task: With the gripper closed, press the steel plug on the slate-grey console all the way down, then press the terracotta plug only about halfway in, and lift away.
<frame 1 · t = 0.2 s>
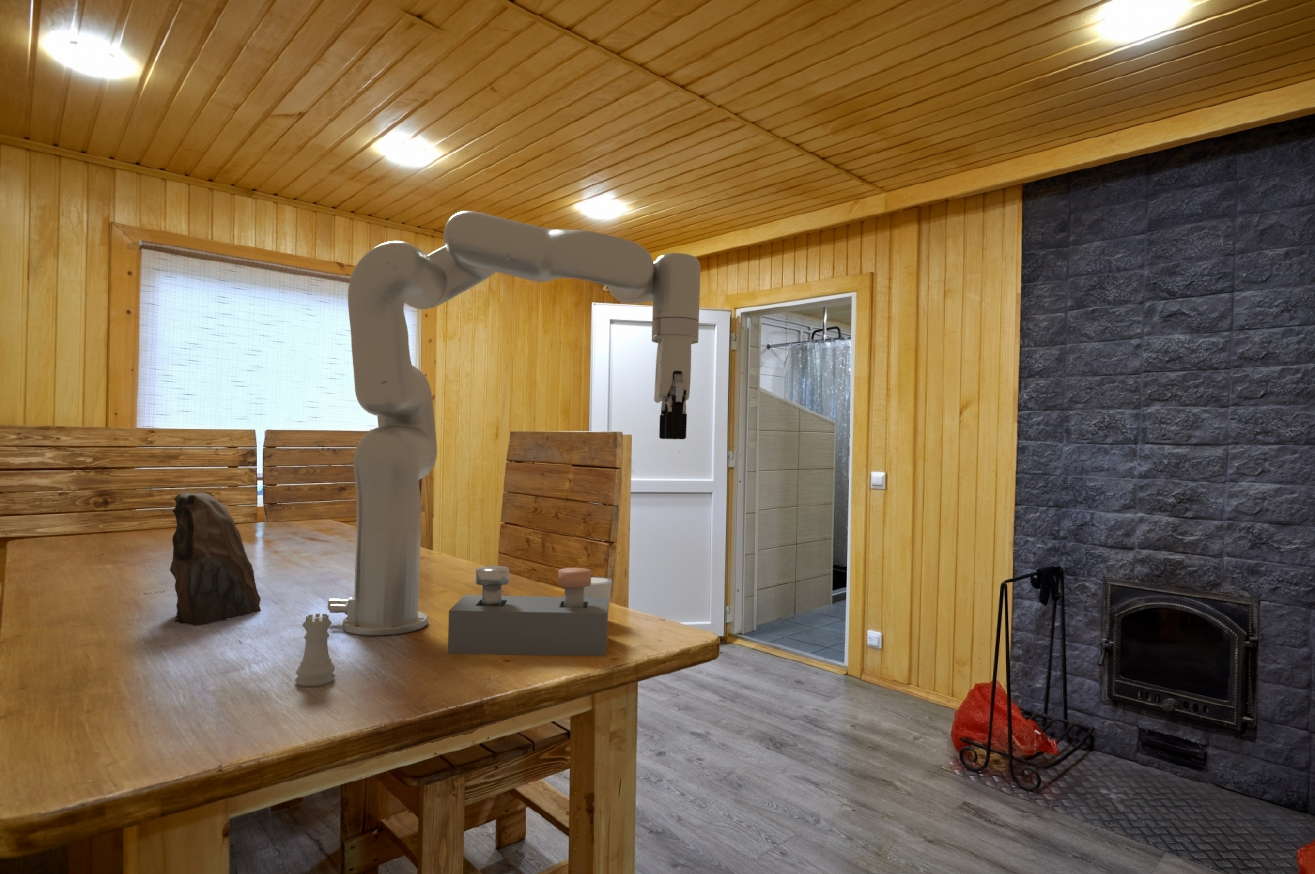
hand: (672, 439, 115), 31 cm above the table, tool pointing down, fingers open, 9 cm apart
terracotta plug: (574, 595, 105), point 7 cm above the table, slide at 0.0 cm
brown rock: (214, 616, 117), on the table
press console: (531, 644, 105), on the table
shot glass: (590, 622, 120), on the table
rook chess piece: (315, 683, 87), on the table
steel plug: (492, 594, 105), point 7 cm above the table, slide at 0.0 cm
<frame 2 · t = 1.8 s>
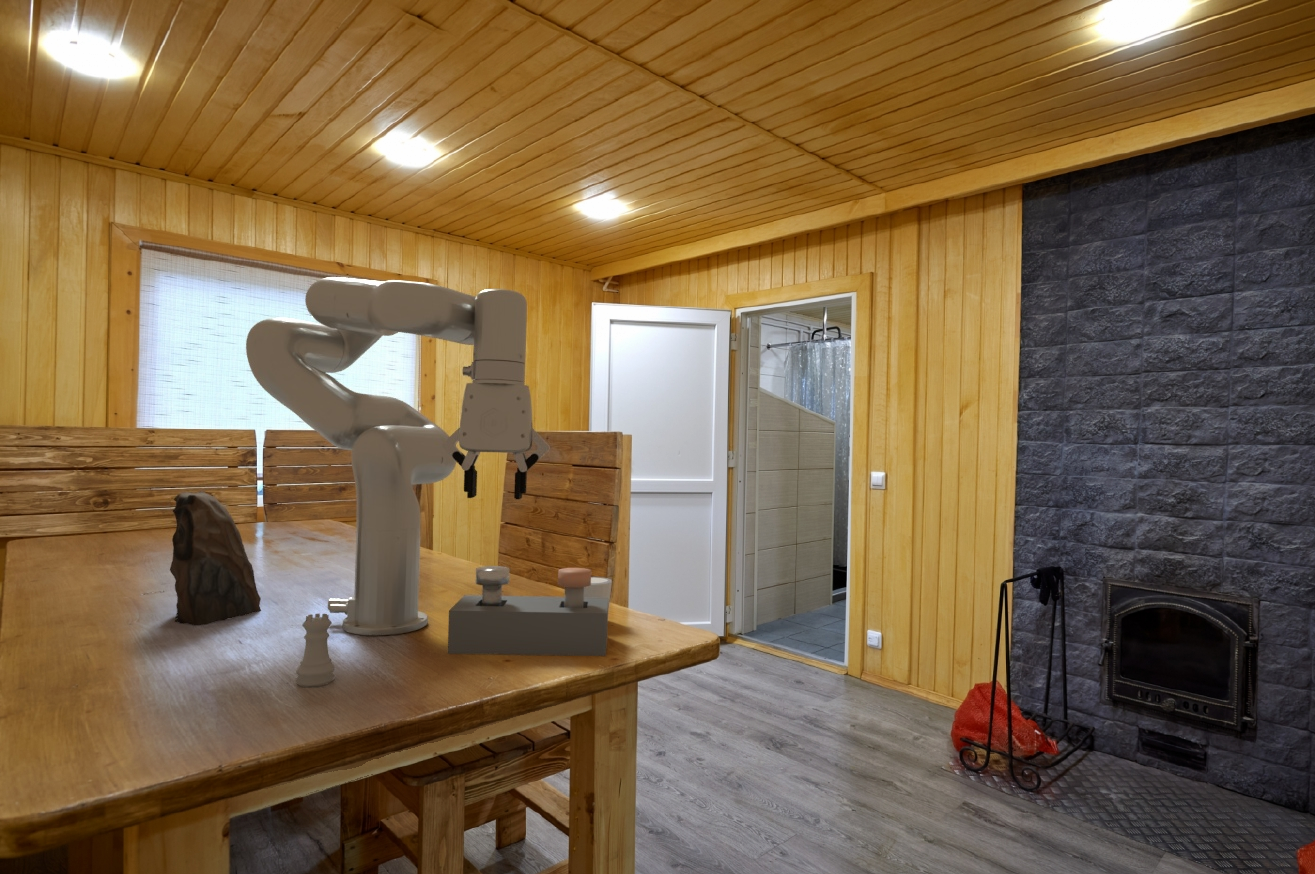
hand: (495, 496, 105), 22 cm above the table, tool pointing down, fingers open, 6 cm apart
nothing on the table moved.
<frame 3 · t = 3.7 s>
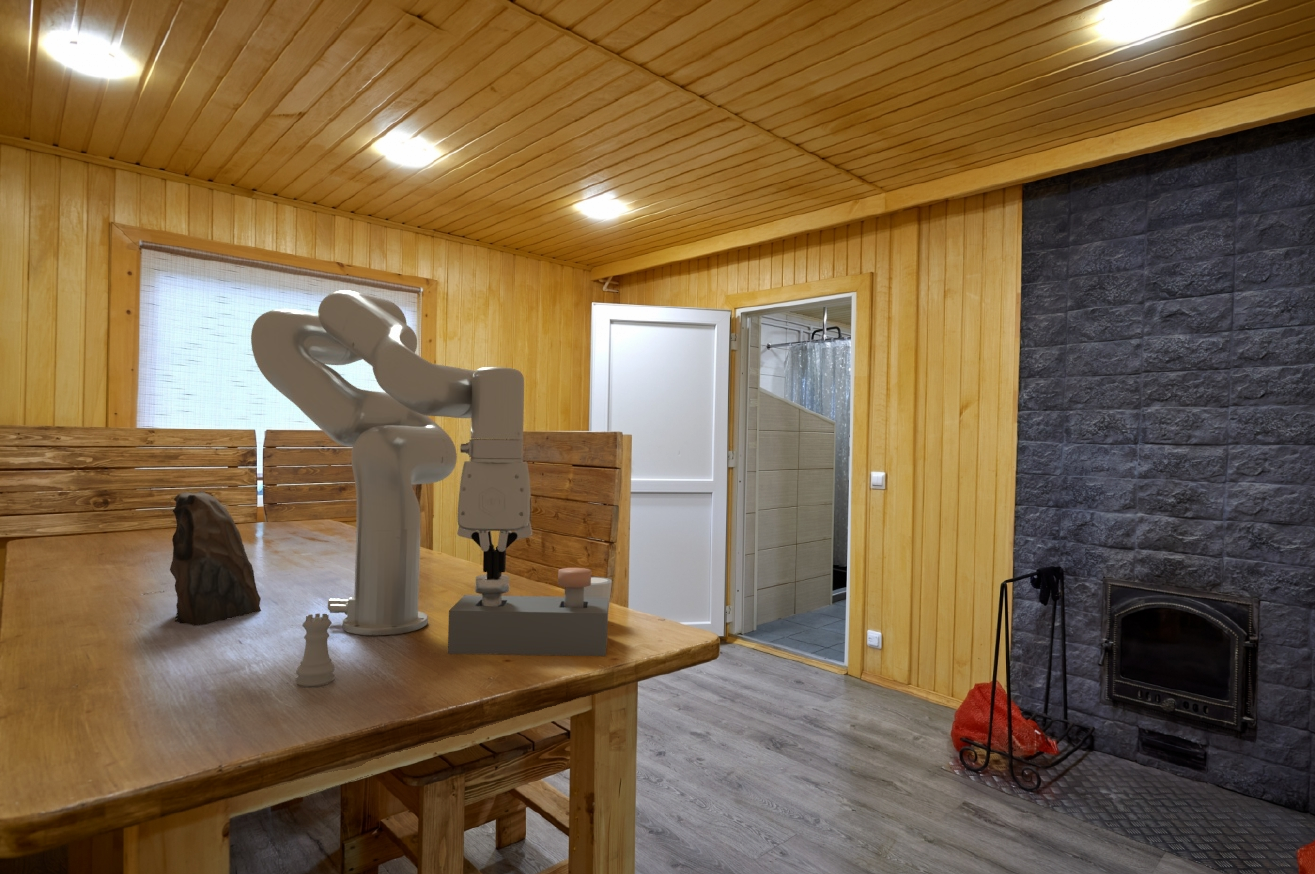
hand: (494, 577, 105), 10 cm above the table, tool pointing down, fingers closed
steel plug: (491, 602, 105), point 6 cm above the table, slide at 1.2 cm, touching gripper
everything else where it was.
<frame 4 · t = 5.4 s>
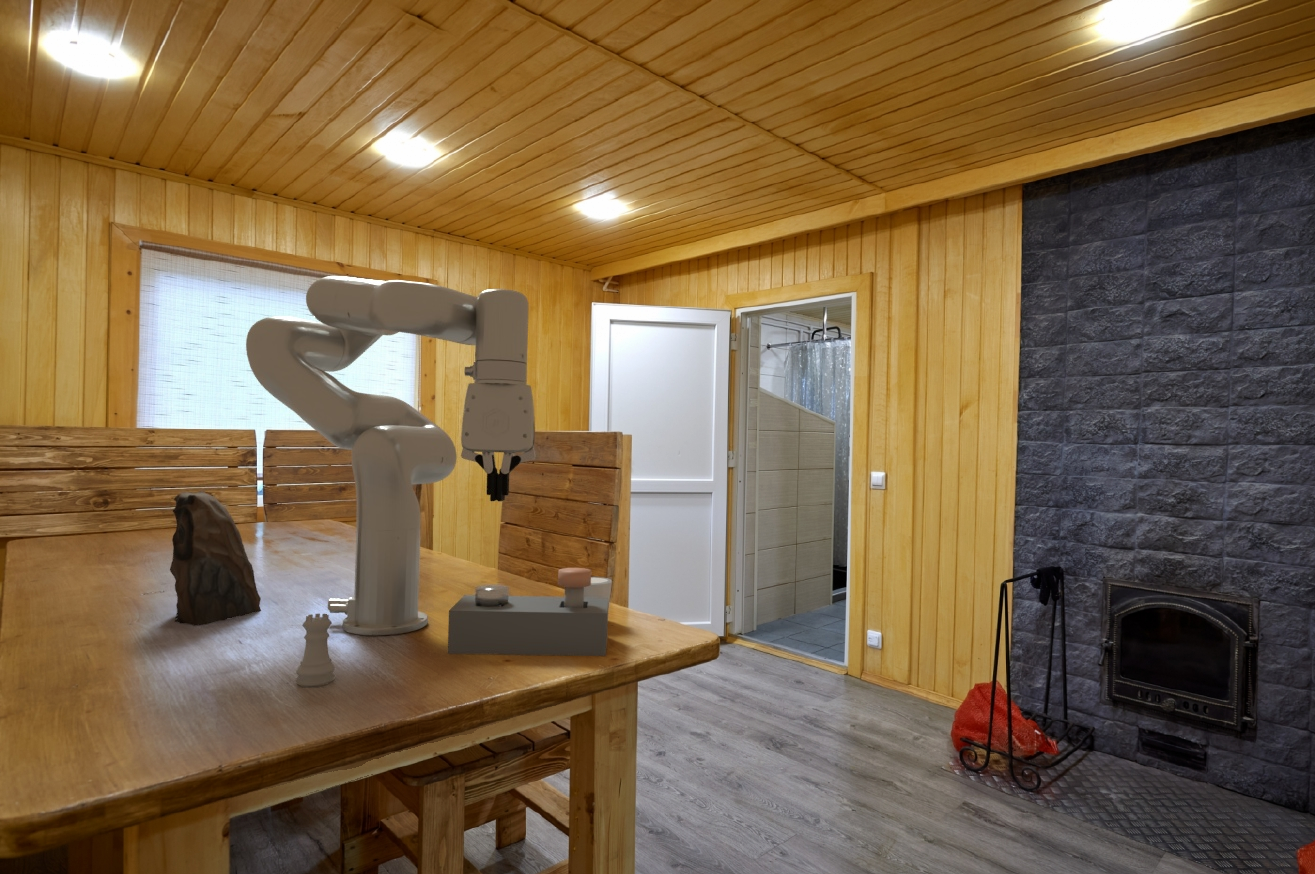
hand: (497, 500, 105), 21 cm above the table, tool pointing down, fingers closed
steel plug: (491, 613, 105), point 4 cm above the table, slide at 2.8 cm
everything else where it was.
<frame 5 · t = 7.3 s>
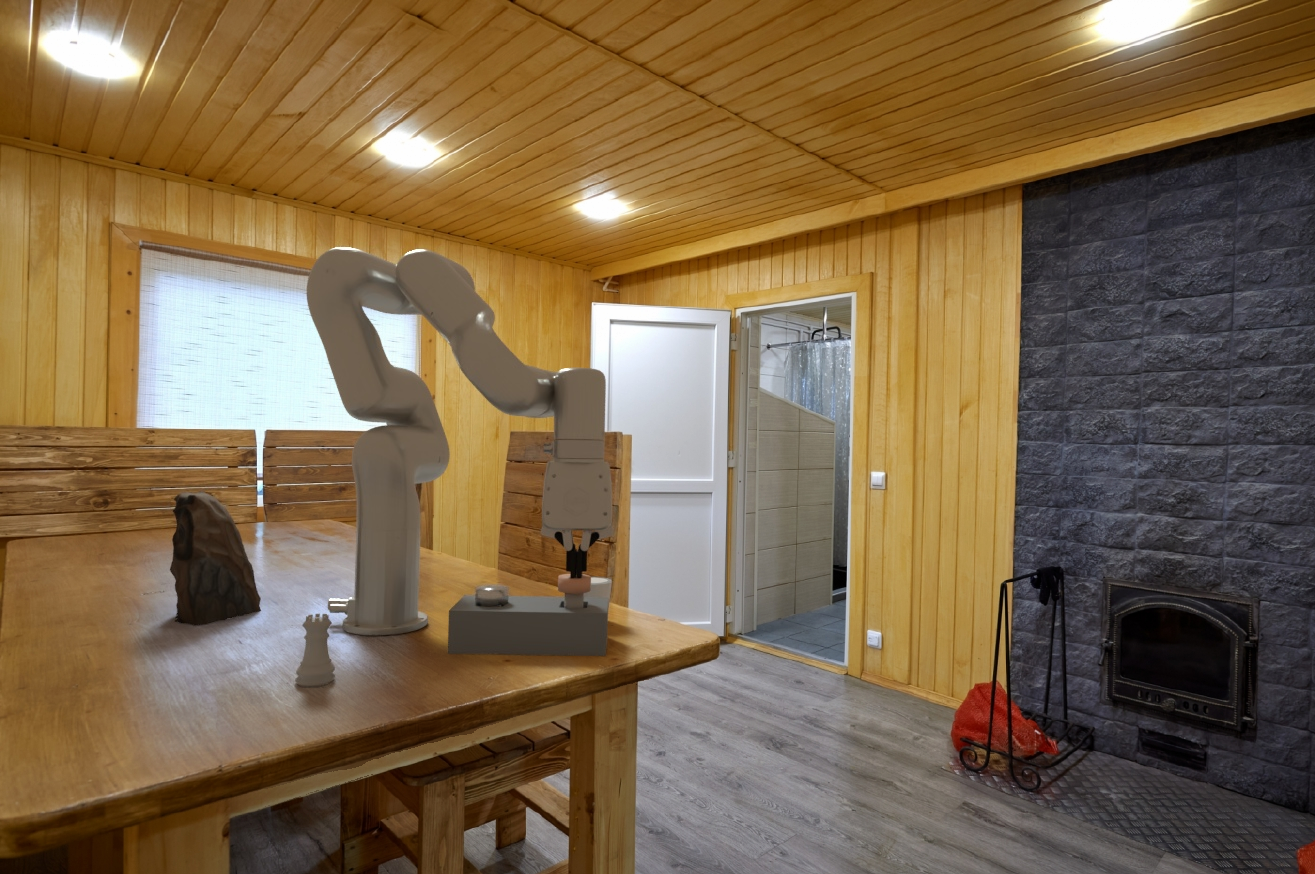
hand: (576, 576, 105), 10 cm above the table, tool pointing down, fingers closed
terracotta plug: (573, 601, 105), point 6 cm above the table, slide at 0.9 cm, touching gripper
everything else where it was.
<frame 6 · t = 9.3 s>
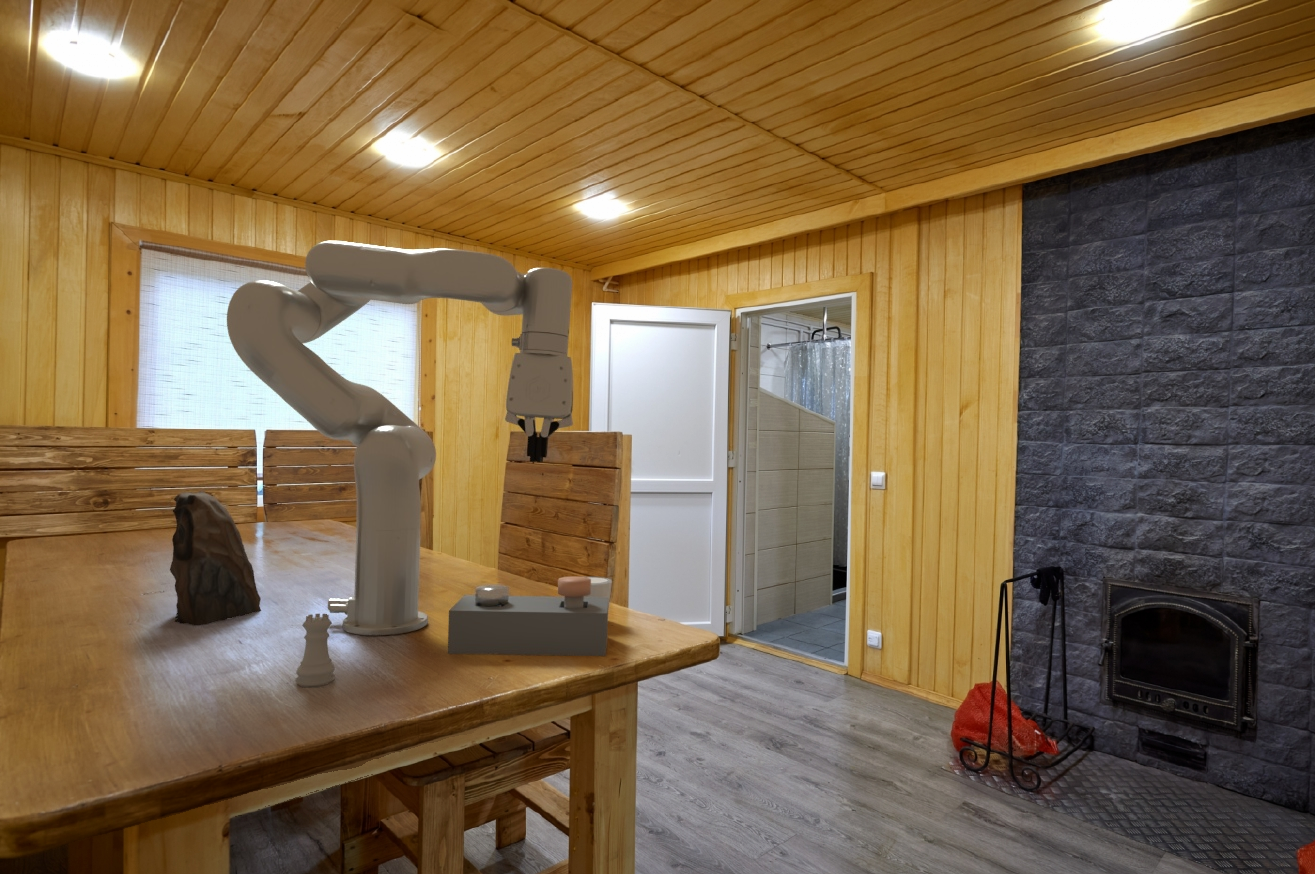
hand: (536, 461, 114), 27 cm above the table, tool pointing down, fingers closed
terracotta plug: (573, 604, 105), point 6 cm above the table, slide at 1.3 cm
everything else where it was.
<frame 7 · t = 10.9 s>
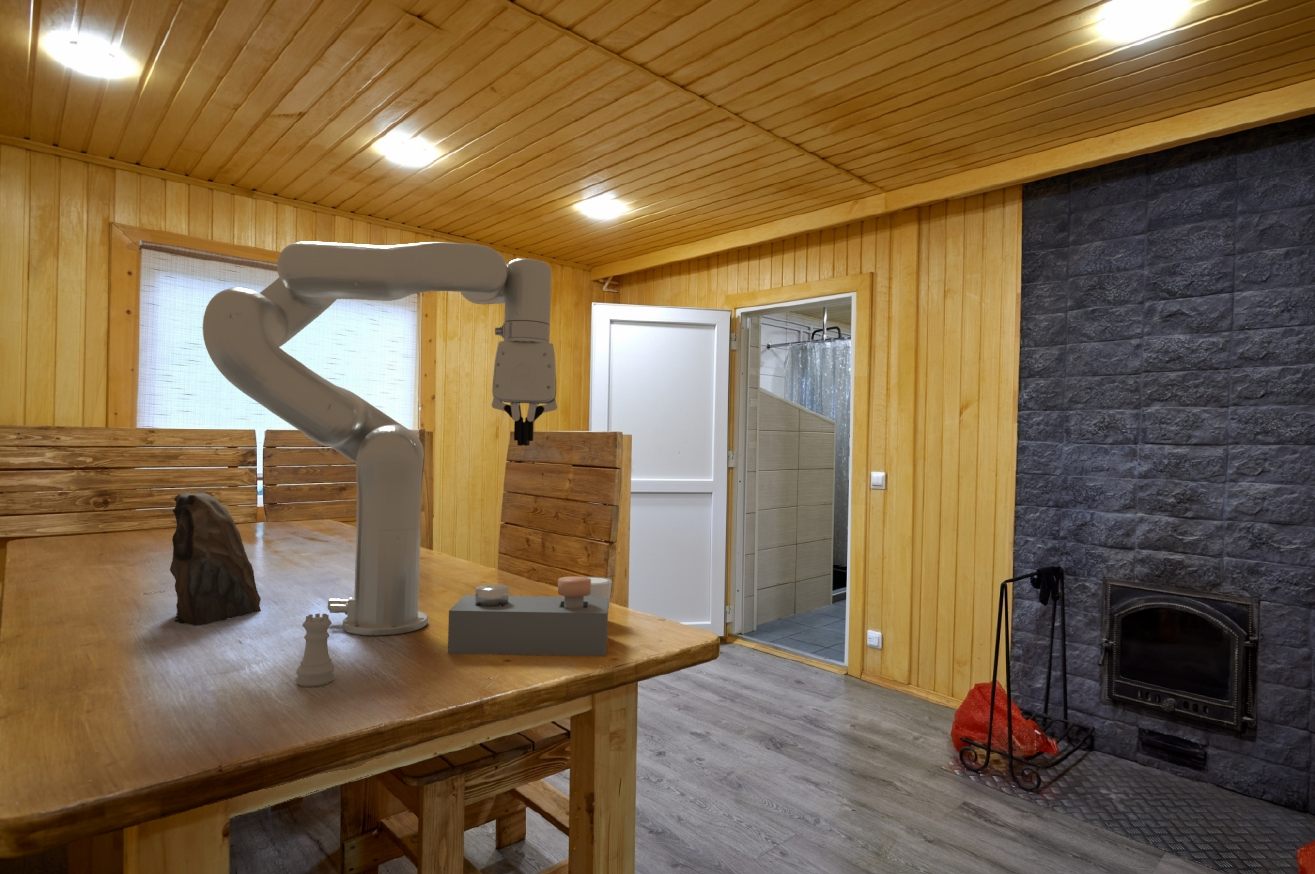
hand: (523, 445, 119), 29 cm above the table, tool pointing down, fingers closed
nothing on the table moved.
at the end: steel plug slide at 2.8 cm; terracotta plug slide at 1.3 cm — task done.
